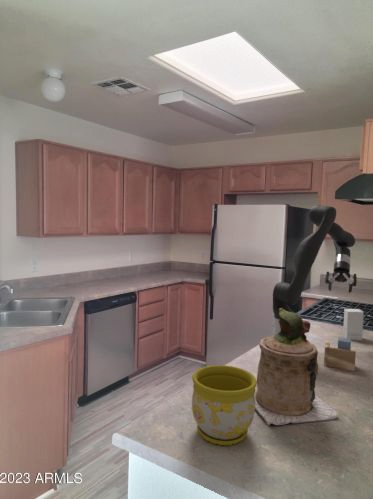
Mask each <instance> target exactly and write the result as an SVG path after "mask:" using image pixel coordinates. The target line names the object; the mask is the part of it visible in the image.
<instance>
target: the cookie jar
mask: <svg viewBox="0 0 373 499" xmlns="http://www.w3.org/2000/svg"><path fill="white" fill-rule="evenodd" d="M279 318H280V320H279V324H280V329H281V331H280V332H279V333H278V334H276V335H275V336H272V337H271V336H267V337H263V338H262V339H260V341H259V348H260V355H259V356H260V357H259V362H258V365H257V374H256V381H257V384H256V387H255V394H254V396H255V411H257V412H258V414H259V415H260V416H261V417H262V418H263V419H264V421H265V423H266V424H267V425H268V426H270V425H271V424H272V425H274V426H284V425H287V424H301V423H303V424H304V423H309V422H310V423H312V422H318V421H320V422H321V421H330V420H334V419H336V418H337V417H338V411H336V410H335V409H334V407H331V406H329V404H326V402H324V401H323V400H322V399H321V398H320V397H318V396H317V395H316V393H315V388H316V380H317V376H318V374H319V364H318V354H319V351H318V348H317V347H316V346H315V344H314V343H311V342H310V341H309V340H308V339H307V336H306V334H307V333H309V332H310V330H311V322H310V321H308V320H305V319H303V318H302V316H301V315H300V314H298V313H296V312H294V313H292V312H288V311H285V310H284V309H282V308H280V309H279Z"/></svg>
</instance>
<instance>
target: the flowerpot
mask: <svg viewBox="0 0 373 499" xmlns="http://www.w3.org/2000/svg"><path fill="white" fill-rule="evenodd" d="M192 382H193V387H192V388H193V392H192V396H191V397H192V398H191V410H192V415H193V418H194V420H195V423H196V424H197V425H196V426H197V427H196V429H197V431H198V434H200V435H201V437H202V439H204V440H206V441H207V442H208V441H209V442H208V443H210V442H211V443H210V444H213V443H214V444H213V445H216V444H218V445H217V446H221V445H229V446H233V445H232V444H234V445H237V444H239V443H241V442H242V441H243V440H244V439H245V438H246V437H247V435H248V433H249V432H248V429H249V428H250V426H251V425H252V422H253V420H254V417H255V413H256V409H255V396H254V394H255V387H256V385H257V377H255V375H253V373H251V372H250V371H248V370H246V369H243V368H241V367H237V366H233V365H223V364H219V365H218V364H217V365H215V364H213V365H208V366H207V365H206V366H203V367H201V368H198V369H196V370H195V371H194V373H193V375H192ZM241 440H242V441H241ZM238 442H239V443H238ZM236 443H237V444H236Z"/></svg>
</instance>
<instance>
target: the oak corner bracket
mask: <svg viewBox="0 0 373 499" xmlns="http://www.w3.org/2000/svg"><path fill="white" fill-rule="evenodd" d="M356 352H357V351H356V350H353V349H352V350H351V349H350V350H345V349H339V348H338V347H332V346H331V340H328V339H326V340H325V345H324V354H323V356H324V357H323V366H324V367H331V368H335V369H341V370H346V371H347V370H348V371H353V372H355V369H356V358H357V357H356V356H357V354H356Z"/></svg>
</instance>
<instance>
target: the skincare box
mask: <svg viewBox="0 0 373 499" xmlns="http://www.w3.org/2000/svg"><path fill="white" fill-rule="evenodd" d="M343 311H344V312H343V326H342V327H343V328H342V329H343V330H342V338H346V339H351V341H363V331H364V329H363V328H364V313H365V312H364V311H363V310H361V309H360V308H344V310H343Z"/></svg>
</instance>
